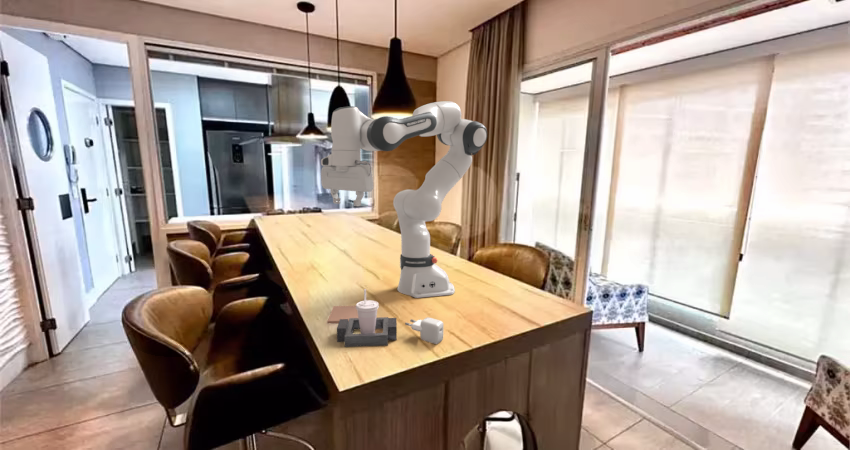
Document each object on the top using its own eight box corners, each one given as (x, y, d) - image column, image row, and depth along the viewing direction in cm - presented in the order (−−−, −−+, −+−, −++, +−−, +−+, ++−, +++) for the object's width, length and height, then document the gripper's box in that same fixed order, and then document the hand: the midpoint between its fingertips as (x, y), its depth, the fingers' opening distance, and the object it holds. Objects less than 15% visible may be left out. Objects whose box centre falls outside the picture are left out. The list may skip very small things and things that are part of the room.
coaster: (369, 307, 123) (369, 305, 123) (366, 322, 112) (366, 320, 111) (333, 308, 122) (333, 306, 122) (327, 323, 111) (327, 321, 110)
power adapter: (403, 335, 103) (403, 316, 102) (412, 329, 107) (412, 311, 106) (436, 346, 97) (436, 326, 96) (445, 339, 101) (445, 320, 100)
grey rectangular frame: (396, 326, 109) (396, 313, 109) (396, 345, 98) (396, 331, 97) (341, 327, 108) (341, 315, 107) (335, 347, 96) (335, 333, 96)
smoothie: (357, 331, 106) (356, 285, 103) (379, 330, 106) (379, 285, 104) (355, 341, 99) (354, 293, 97) (378, 341, 100) (378, 293, 98)
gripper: (377, 161, 108) (377, 206, 110) (332, 160, 120) (333, 201, 122) (362, 160, 103) (363, 208, 105) (317, 160, 115) (318, 203, 117)
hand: (346, 204), depth 114 cm, fingers open, 8 cm apart
